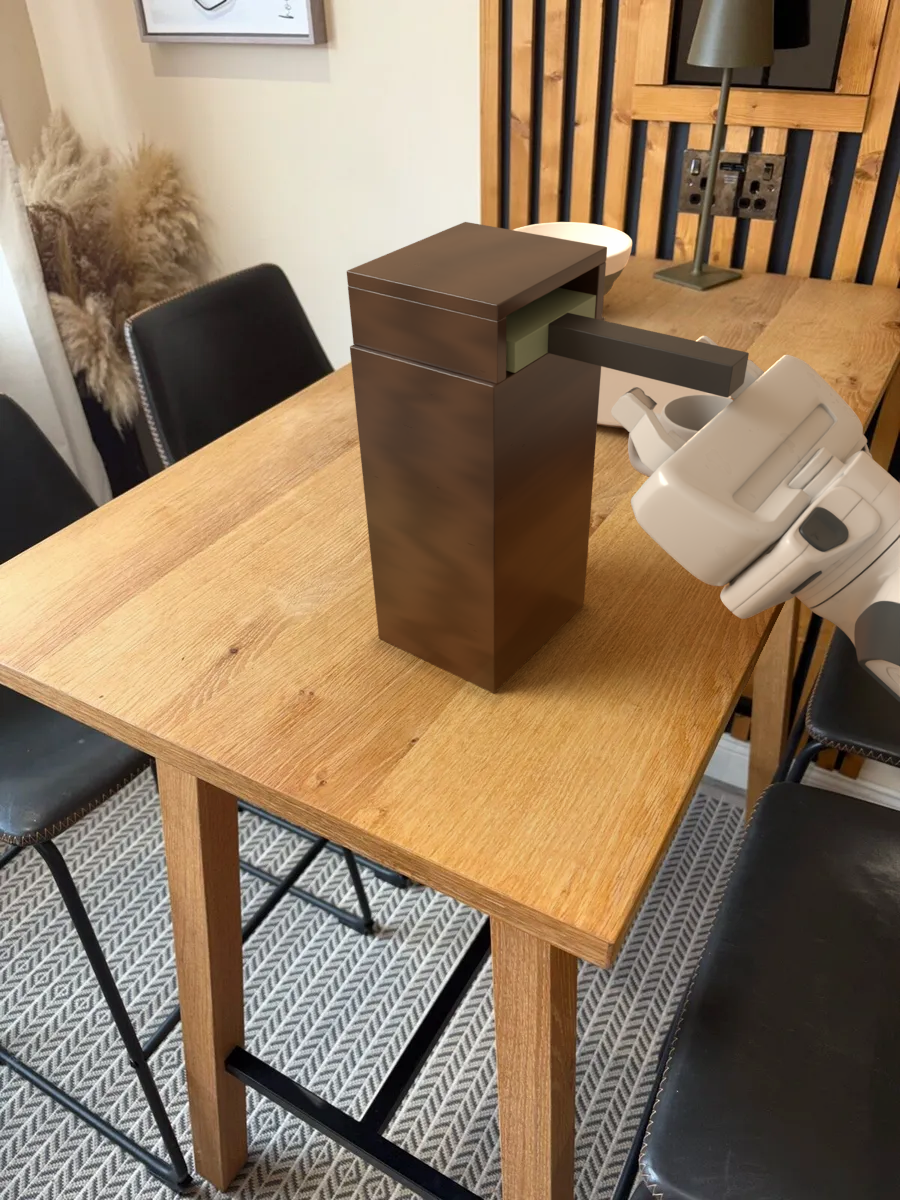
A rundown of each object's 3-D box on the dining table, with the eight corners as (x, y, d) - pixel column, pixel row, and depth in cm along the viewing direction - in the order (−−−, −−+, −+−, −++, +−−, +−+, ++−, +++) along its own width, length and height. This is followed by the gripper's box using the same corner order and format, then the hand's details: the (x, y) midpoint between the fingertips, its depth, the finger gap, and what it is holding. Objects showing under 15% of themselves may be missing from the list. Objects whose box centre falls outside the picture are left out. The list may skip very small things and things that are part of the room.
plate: (737, 448, 104) (740, 432, 102) (511, 433, 108) (512, 417, 107) (729, 358, 123) (732, 343, 122) (539, 348, 128) (539, 334, 127)
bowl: (485, 289, 148) (485, 227, 142) (603, 278, 150) (607, 217, 144) (514, 334, 132) (515, 267, 126) (645, 321, 135) (651, 254, 129)
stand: (584, 605, 82) (610, 244, 63) (494, 694, 73) (493, 306, 54) (474, 561, 88) (468, 219, 69) (378, 638, 79) (341, 272, 60)
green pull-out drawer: (768, 362, 58) (773, 331, 57) (700, 422, 52) (704, 389, 51) (488, 299, 69) (488, 272, 68) (404, 343, 63) (402, 314, 61)
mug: (750, 507, 94) (769, 407, 87) (713, 545, 88) (730, 442, 82) (644, 473, 100) (654, 378, 93) (603, 507, 94) (611, 409, 88)
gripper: (914, 422, 60) (755, 284, 62) (800, 574, 47) (603, 394, 49) (846, 482, 65) (700, 352, 67) (725, 634, 52) (549, 468, 54)
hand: (658, 370), depth 58 cm, fingers open, 8 cm apart
